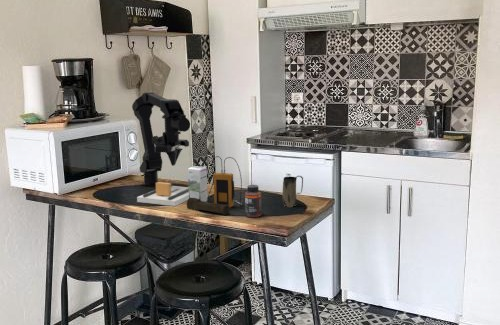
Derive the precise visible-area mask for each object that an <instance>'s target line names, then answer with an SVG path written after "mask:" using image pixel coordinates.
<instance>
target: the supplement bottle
mask: <svg viewBox="0 0 500 325" xmlns="http://www.w3.org/2000/svg"><path fill="white" fill-rule="evenodd" d="M246 188H247V190H246V191H245V193H244V199H245V200H244V204H245V206H244V207H245V211H244V212H245V216H246V217H247V218H251V217H256V218H259V216H260V217H261V216H262V213H263V212H262V210H263V209H262V192H261V191H260V190H259V185H258V184H249V185H247V187H246Z"/></svg>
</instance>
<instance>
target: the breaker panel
mask: <svg viewBox="0 0 500 325" xmlns="http://www.w3.org/2000/svg"><path fill="white" fill-rule="evenodd" d="M188 199H189V188H188V186H178V185H173V184H172V183H171V195H170V196H163V195H156V189H154V190H150V191H148V192H146V193H144V194H142V195H139V196H137V197H136V203H144V204H153V205H154V204H155V205H162V206H172V207H176V206H178V205H180V204H182V203H184V202H187V201H188Z"/></svg>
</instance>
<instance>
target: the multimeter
mask: <svg viewBox="0 0 500 325" xmlns="http://www.w3.org/2000/svg"><path fill="white" fill-rule="evenodd" d="M216 158H219V159H220V161H221V162H220V163H221V165H220V166H221V171H220V172H216V173H213V163H214V161H215V160H216ZM229 158H230V159H233V160H234V161H235V163H236V166H237V168H238V171H239V175H240V176H239V177H242V174H241V169H240V166H239V165H238V162H237V160H236V159H235V158H234V157H231V156H228V157H226V158H225V159H224V161H223V158H221V157H220V156H218V155H217V156H215V157H214V158H213V159H212V162H211V168H210V169H211V174H212V175H211V176H212V185H211V187H210V190H209V192H208V194H207V200H208V199H209V197H210V194H211V191H212V188H213V199H214V200H213V203H217V204H222V205H229V207H230V208H232V207H234V205H235V204H234V202H235V200H234V199H235V181H234V174H233V173H228V172H227V173H226V166H225V161H226V159H229ZM242 186H243V182H242V178H240V190H242V188H243V187H242ZM239 194H240V197H239V198H240V199H239V201H238V200H236V203H237V204H239V205H240V206H242V207H245V206H244V204H243V203H242V193H239ZM208 201H209V200H208ZM208 201H206V202H208ZM230 208H229V209H230Z"/></svg>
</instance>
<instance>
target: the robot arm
mask: <svg viewBox="0 0 500 325" xmlns="http://www.w3.org/2000/svg"><path fill="white" fill-rule="evenodd" d="M154 107H156V108H157V107H158V108H159V109H160V110H159V111H160V112H161V113H162V114H163V115H162V116H161V118H162V119H164V132H162V135H161V136H158V135H155V136H154V134H153V129H152V124H151V123H152V122H151V116H152V114H153V108H154ZM131 108H132V111H133V114H134V117H136V119H137V120H138V122H139V127H140V131H141V132H140V133H141V137H142V143H143V149H144V152H143V155H142V162H141V164H140V166H139V171H140V173H142V174H143V177H144V178H143V180H144V183H142V184H141V185H142V186H147V187H156V183H157V182H159V176H158V175H159V174H158V172H161V171H162V168H163V159H162V153H166V155H167V157H168V160H169V161H170V164H171V166H176V163H177V161H178V159H179V157H180V154H181V152H182V151H183V148H180V147H181V146H182V147H184V148H187V147H190V142H189V140H188V139H180V138H179V137H180V136H179V135H181V132H183V133H184V132H185V133H186V132H187V131H189V130H190V128H191V123H190V120H189V119H188V118H187V117H186V116H187V115H186V114H185V111H184V109H183V107H182V106H181V103H180V101H179V100H178V99H171V98H169V99H168V98H165V97H164V96H161V95H158V94H156V93H155V92H152V91H151V92H144V93H142V95H141V96H139V97H138V98H136V99H135V100H134V102H133V103H132V105H131Z"/></svg>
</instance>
